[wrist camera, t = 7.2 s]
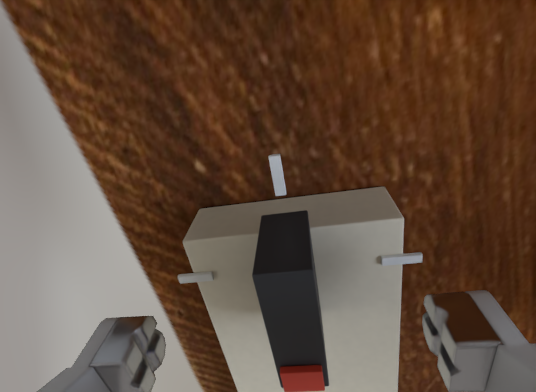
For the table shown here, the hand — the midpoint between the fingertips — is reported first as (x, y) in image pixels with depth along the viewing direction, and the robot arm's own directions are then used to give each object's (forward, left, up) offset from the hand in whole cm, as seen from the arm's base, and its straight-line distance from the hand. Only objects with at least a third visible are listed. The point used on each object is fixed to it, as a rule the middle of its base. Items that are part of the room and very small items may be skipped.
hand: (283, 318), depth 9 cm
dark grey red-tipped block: (0, 0, -3) cm, 3 cm away
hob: (+6, -3, -5) cm, 8 cm away
